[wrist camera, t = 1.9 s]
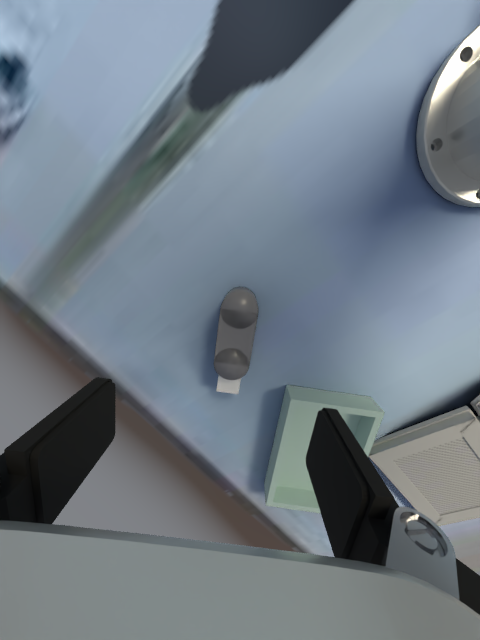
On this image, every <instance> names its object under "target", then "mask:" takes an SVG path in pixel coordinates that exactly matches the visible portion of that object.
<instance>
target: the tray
mask: <svg viewBox="0 0 480 640" xmlns="http://www.w3.org/2000/svg"><path fill="white" fill-rule="evenodd" d="M323 408H332V409H337V410H338V412H339V413H340V415H341V416H342V418H343V419H344V421H345V422H346V424H347V426H348V427H349V429H350V430H351V432H352V433H353V435H354V436H355V438H356V440H357V441H358V443H359V444H360V446H361V447H362V449H363V450H364V452H365V454H366V455H367V457H368V456H369V453H370V451H371V448H372V445H373V443H374V440H375V437H376V435H377V432H378V429H379V427H380V424H381V421H382V419H383V416H384V413H385V412H384V411H383V410H382V409H381V408H380V407H379V406H378V405H377V403H376V402H375V401H374V400H373V399H372V398H371V397H368V396H361V395H354V394H347V393H340V392H333V391H326V390H319V389H312V388H305V387H298V386H291V385H286V389H285V394H284V398H283V402H282V407H281V411H280V416H279V420H278V425H277V429H276V433H275V438H274V442H273V447H272V451H271V456H270V460H269V464H268V469H267V473H266V478H265V482H264V489H265V502H266V506H271V507H278V508H286V509H293V510H300V511H307V512H315V513H321V512H320V509H319V505H318V502H317V499H316V496H315V493H314V489H313V486H312V483H311V480H310V476H309V473H308V470H307V467H306V454H307V451H308V447H309V443H310V439H311V436H312V432H313V428H314V425H315V421H316V417H317V413H318V411H319V410H322V409H323Z"/></svg>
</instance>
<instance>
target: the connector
mask: <svg viewBox="0 0 480 640" xmlns="http://www.w3.org/2000/svg"><path fill="white" fill-rule="evenodd" d="M257 317H258V305H257V301H256V297H255V295H254V293H253V292H252V291H251V290H249V289H248V288H245V287H236V288H233V289H232V290H230V291H229V292H228V293H227V295H226V297H225V298H224V300H223V302H222V304H221V308H220V317H219V325H218V333H217V341H216V349H215V358H214V368H215V370H216V372H217V374H218V383H217V391H218V392H225V393H232V394H238V393H239V387H240V381H241V378H242V377H243V376H244V375H245V374H246V373H247V371H248V369H249V364H250V358H251V353H252V347H253V341H254V335H255V329H256V323H257Z"/></svg>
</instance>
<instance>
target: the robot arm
mask: <svg viewBox="0 0 480 640" xmlns="http://www.w3.org/2000/svg"><path fill="white" fill-rule="evenodd" d="M416 138H417V153H418V158H419V162H420V166H421V169H422V171H423V173H424V175H425V178H426V180H427V181H428V182H429V184H430V185H431V186H432V187H433V189H434V190H435V191H436V192H437V193H439V194H440V195H441V196H442V197H444V198H445V199H447V200H449V201H451V202H453V203H455V204H458V205H463V206H467V207H480V25H479V26H477V27H476V28H475V29H474V30H473V31H472V32H471V33H470V34H469V35H468V36H467V37H466V38H465V39H464V40H463V41H462V42H461V43H460V44H459V45H458V46H457V47H456V48H455V49H454V50H453V52H452V53H451V54H450V55H449V56H448V57H447V58H446V60H445V61H444V62H443V64H442V65H441V67H440V68H439V70H438V72H437V73H436V75H435V76H434V78H433V80H432V82H431V84H430V86H429V88H428V90H427V92H426V95H425V97H424V100H423V103H422V107H421V110H420V113H419V118H418V125H417V133H416ZM114 436H115V383H112V380H111V379H106V378H99V377H97V378H95V379H94V380H92V381H91V382H90V383H89V384H87V385H86V386H85V387H83V388H82V389H81V390H80V391H78V392H77V393H76V394H74V395H73V396H72V397H71V398H69V399H68V400H67V401H66V402H64V403H63V404H62V405H61V406H59V407H58V408H57V409H55V410H54V411H53V412H52V413H50V414H49V415H48V416H46V417H45V418H44V419H43V420H41V421H40V422H39V423H38V424H36V425H35V426H34V427H33V428H31V429H30V430H29V431H27V432H26V433H25V434H24V435H22V436H21V437H20V438H19V439H17V440H16V441H15V442H13V443H12V444H11V445H10V446H8V447H7V448H6V449H5V452H4V453H3V454H2V455H0V640H480V576H479V575H478V574H477V573H475V572H474V571H473V570H471V569H470V568H469V567H467V566H466V565H464V564H463V563H462V562H460V561H459V560H458V559H456V557H455V552H454V548H453V546H452V544H451V542H450V540H449V539H448V537H447V536H446V535H445V533H444V532H443V531H442V530H441V528H440V527H438V526H437V525H436V524H435V523H434V522H433V521H432V520H431V519H429V518H428V517H427V516H425V515H424V514H422V513H421V512H419V511H417V510H415V509H412V508H409V507H399V506H398V504H397V503H396V501H395V499H394V497H393V496H392V494H391V492H390V491H389V489H388V488H387V486H386V485H385V483H384V482H383V480H382V478H381V477H380V475H379V474H378V472H377V471H376V469H375V468H374V466H373V464H372V463H371V461H370V460H369V458H368V457H367V455H366V454H365V452H364V450H363V449H362V447H361V446H360V444H359V443H358V441H357V440H356V438H355V436H354V435H353V433H352V432H351V430H350V429H349V427H348V426H347V424H346V422H345V421H344V419H343V418H342V416H341V415H340V413H339V412H338V410H337V409H332V408H323V409H322V410H319V411H318V413H317V417H316V421H315V425H314V428H313V432H312V436H311V439H310V443H309V447H308V451H307V454H306V467H307V470H308V473H309V476H310V480H311V483H312V486H313V489H314V493H315V496H316V499H317V502H318V505H319V509H320V512H321V515H322V518H323V521H324V525H325V528H326V531H327V534H328V537H329V541H330V544H331V547H332V550H333V553H334V556H335V557H328V556H321V555H314V554H307V553H298V552H290V551H282V550H273V549H266V548H257V547H249V546H242V545H233V544H225V543H216V542H207V541H199V540H191V539H182V538H173V537H164V536H156V535H147V534H138V533H129V532H120V531H111V530H101V529H93V528H83V527H74V526H65V525H53V524H52V523H53V522H54V520H55V519H56V518H57V516H58V515H59V513H60V512H61V511H62V509H63V508H64V507H65V505H66V504H67V503H68V501H69V499H70V498H71V497H72V496H73V494H74V493H75V492H76V490H77V489H78V487H79V486H80V485H81V483H82V482H83V480H84V479H85V478H86V476H87V475H88V474H89V472H90V471H91V470H92V468H93V467H94V465H95V464H96V463H97V461H98V460H99V459H100V457H101V456H102V455H103V453H104V452H105V450H106V449H107V448H108V446H109V445H110V443H111V442H112V440H113V439H114Z"/></svg>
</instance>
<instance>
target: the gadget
mask: <svg viewBox="0 0 480 640" xmlns="http://www.w3.org/2000/svg"><path fill="white" fill-rule="evenodd" d="M470 404H471V405H472V406H473V408H474V409H475V411H476V412H477V413H478V415H479V416H477V417H476V416H475V415H474V414H473V412H472V411H471V409H470V408H469V407H468V406H467V405H466V406H464V407H461V408H458V409H456V410H453V411H450V412H448V413H445V414H442V415H440V416H437V417H434V418H432V419H429V420H427V421H424V422H421V423H419V424H416V425H413V426H411V427H408V428H405V429H403V430H400V431H398V432H395V433H392V434H390V435H387V436H384V437H382V438H379V439H377V440H376V441H374V443H373V445H372V448H371V451H370V453H369V457H370V458H371V459H372V461H373V462H374V463H375V464H376V465H377V466H378V467H379V469H380V470H381V471H382V472H383V473H384V474H385V475H386V476H387V478H388V479H389V480H390V481H391V482H392V483H393V484H394V485H395V487H396V488H397V489H398V490H399V491H400V492H401V493H402V494H403V496H404V497H405V498H406V499H407V500H408V501H409V502H410V503H411V505H412V506H413V507H414V508H415V509H416V510H417V511H419V512H421V513H422V514H424V515H425V516H427V517H428V518H429V519H431V520H432V521H433V522H434V523H435V524H436V525H437V526H441V525H446V524H451V523H456V522H461V521H465V520H470V519H475V518H480V395H479V396H478V397H476V398H475V399H474V400H473V401H472V402H471V403H470Z"/></svg>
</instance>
